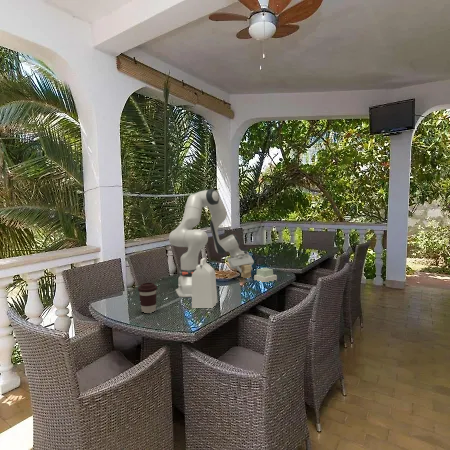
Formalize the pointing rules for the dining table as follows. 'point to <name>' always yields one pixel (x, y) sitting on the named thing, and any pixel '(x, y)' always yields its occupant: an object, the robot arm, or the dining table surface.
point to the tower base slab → (265, 278)
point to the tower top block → (265, 272)
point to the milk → (204, 286)
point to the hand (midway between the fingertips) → (246, 271)
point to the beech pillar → (246, 271)
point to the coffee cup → (147, 297)
